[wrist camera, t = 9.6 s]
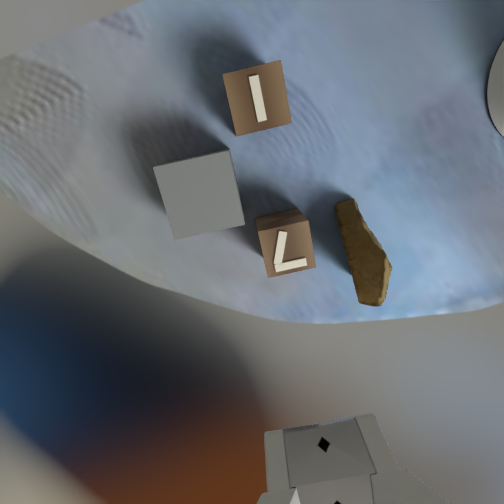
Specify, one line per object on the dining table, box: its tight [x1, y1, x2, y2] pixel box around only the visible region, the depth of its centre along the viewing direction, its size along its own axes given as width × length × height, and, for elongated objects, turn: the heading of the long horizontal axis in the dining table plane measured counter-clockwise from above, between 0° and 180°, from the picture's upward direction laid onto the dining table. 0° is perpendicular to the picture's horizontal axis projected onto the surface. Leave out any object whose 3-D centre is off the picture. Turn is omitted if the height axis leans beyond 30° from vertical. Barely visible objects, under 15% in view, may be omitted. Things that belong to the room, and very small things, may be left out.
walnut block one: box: [222, 60, 292, 136], centre depth 31 cm, size 5×5×6 cm
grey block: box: [153, 149, 245, 240], centre depth 34 cm, size 7×7×6 cm
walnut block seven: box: [255, 208, 316, 278], centre depth 36 cm, size 5×5×6 cm
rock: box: [334, 198, 392, 306], centre depth 36 cm, size 11×9×10 cm
